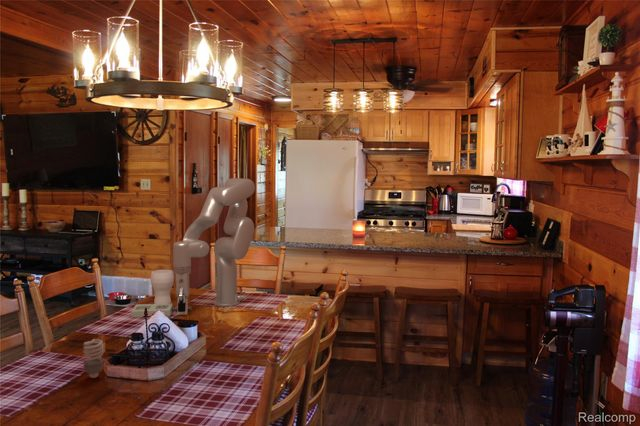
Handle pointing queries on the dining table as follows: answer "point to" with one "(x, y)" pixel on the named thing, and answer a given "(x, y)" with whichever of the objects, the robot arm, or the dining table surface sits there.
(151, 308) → the outlet board
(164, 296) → the cup
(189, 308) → the phone
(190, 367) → the dining table surface
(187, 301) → the block
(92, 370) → the light bulb
